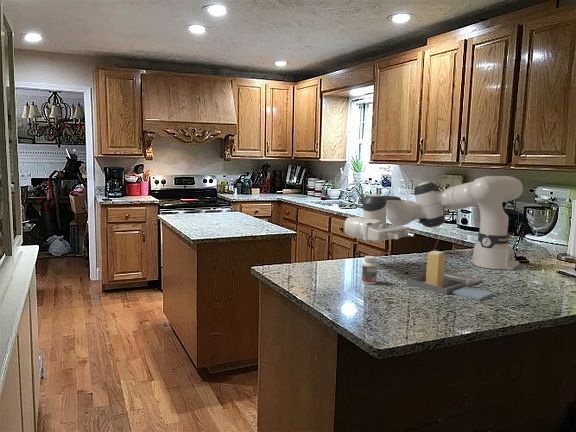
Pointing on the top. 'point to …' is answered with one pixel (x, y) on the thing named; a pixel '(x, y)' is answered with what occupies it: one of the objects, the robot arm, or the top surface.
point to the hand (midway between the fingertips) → (406, 235)
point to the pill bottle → (369, 270)
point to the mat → (472, 293)
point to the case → (449, 278)
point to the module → (435, 268)
